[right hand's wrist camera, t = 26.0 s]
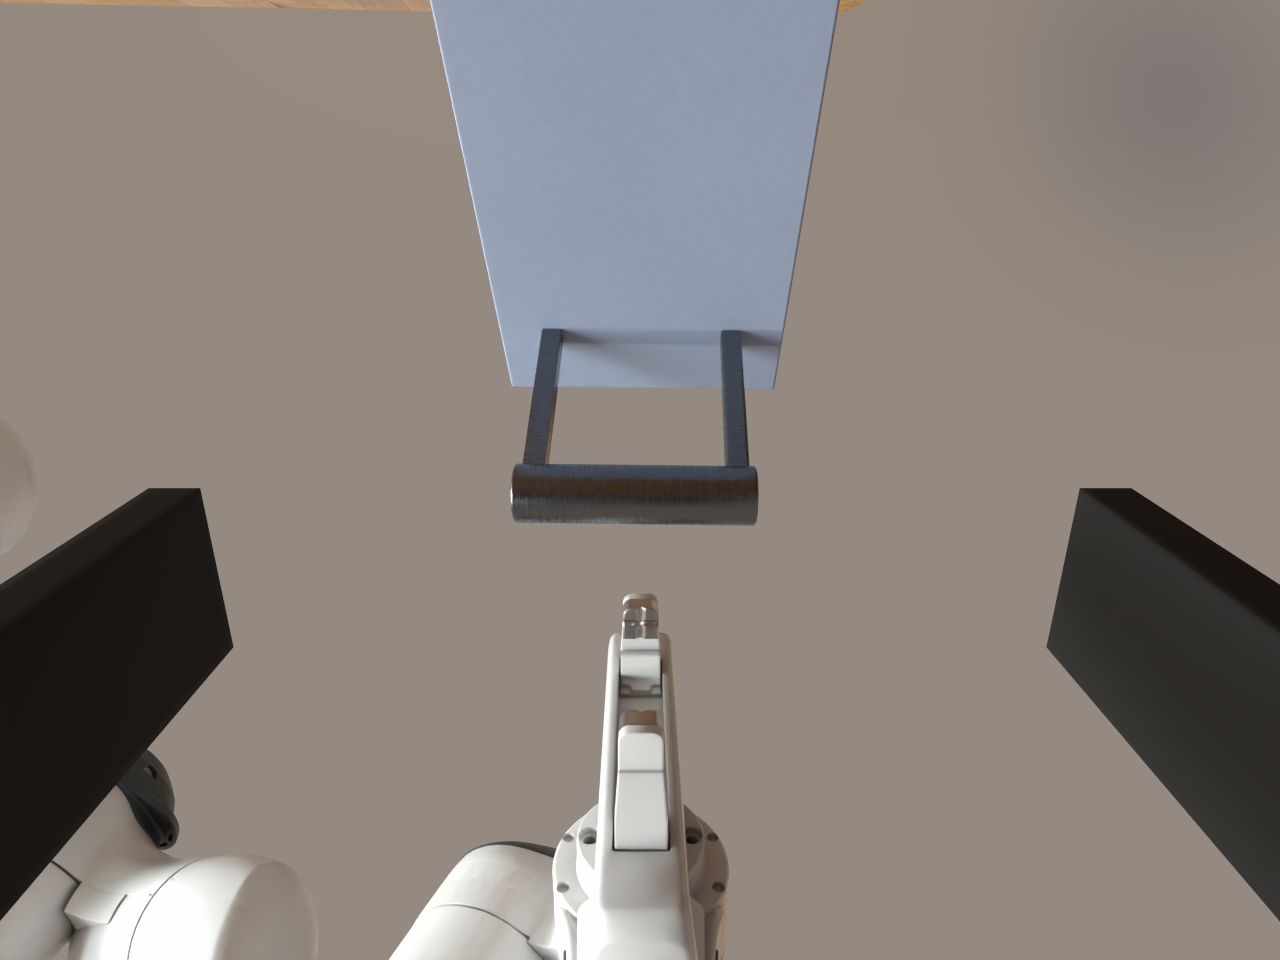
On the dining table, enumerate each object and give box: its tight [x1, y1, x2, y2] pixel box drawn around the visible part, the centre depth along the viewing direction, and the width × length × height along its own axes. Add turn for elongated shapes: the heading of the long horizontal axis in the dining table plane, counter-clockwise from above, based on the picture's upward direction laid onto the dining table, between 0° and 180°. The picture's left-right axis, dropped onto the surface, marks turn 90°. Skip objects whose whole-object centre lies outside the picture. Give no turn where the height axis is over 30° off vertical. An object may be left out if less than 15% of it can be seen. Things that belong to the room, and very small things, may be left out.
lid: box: [430, 0, 840, 526], centre depth 22 cm, size 17×10×9 cm
